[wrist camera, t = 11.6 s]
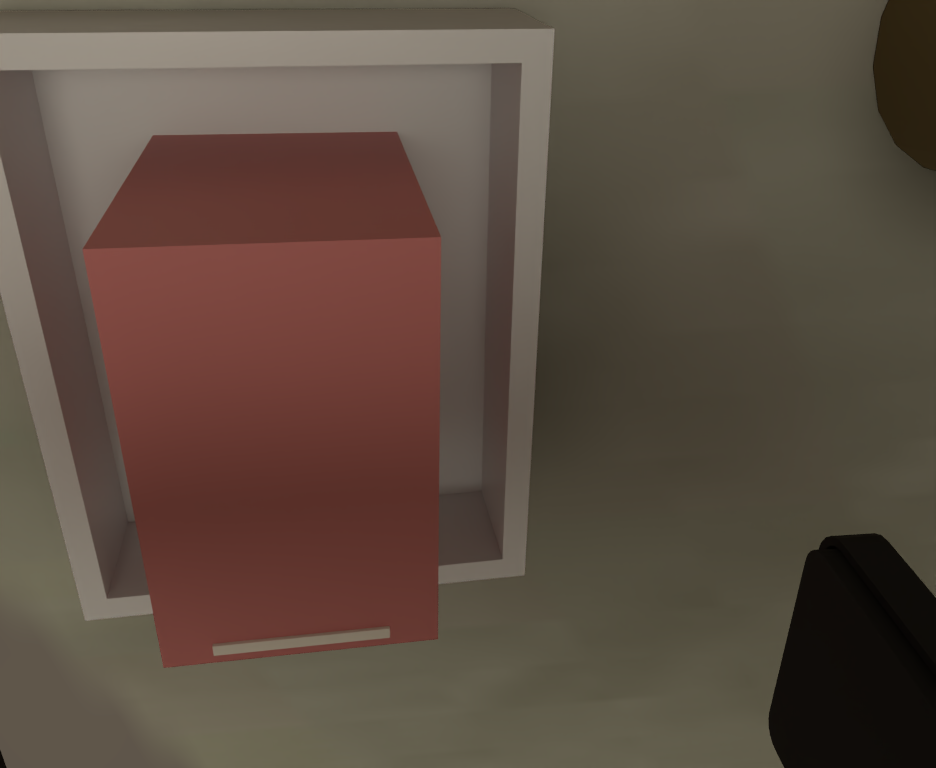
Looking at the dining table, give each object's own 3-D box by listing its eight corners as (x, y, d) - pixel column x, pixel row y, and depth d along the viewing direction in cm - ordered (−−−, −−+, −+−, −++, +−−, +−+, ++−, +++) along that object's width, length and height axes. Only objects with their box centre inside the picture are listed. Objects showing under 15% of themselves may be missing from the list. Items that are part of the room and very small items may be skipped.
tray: (514, 8, 16) (554, 28, 14) (497, 494, 22) (524, 575, 19) (-4, 10, 15) (-67, 34, 12) (112, 528, 20) (85, 621, 18)
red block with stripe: (397, 131, 17) (441, 238, 11) (401, 446, 20) (438, 641, 15) (152, 135, 16) (80, 250, 11) (200, 461, 19) (163, 670, 14)
